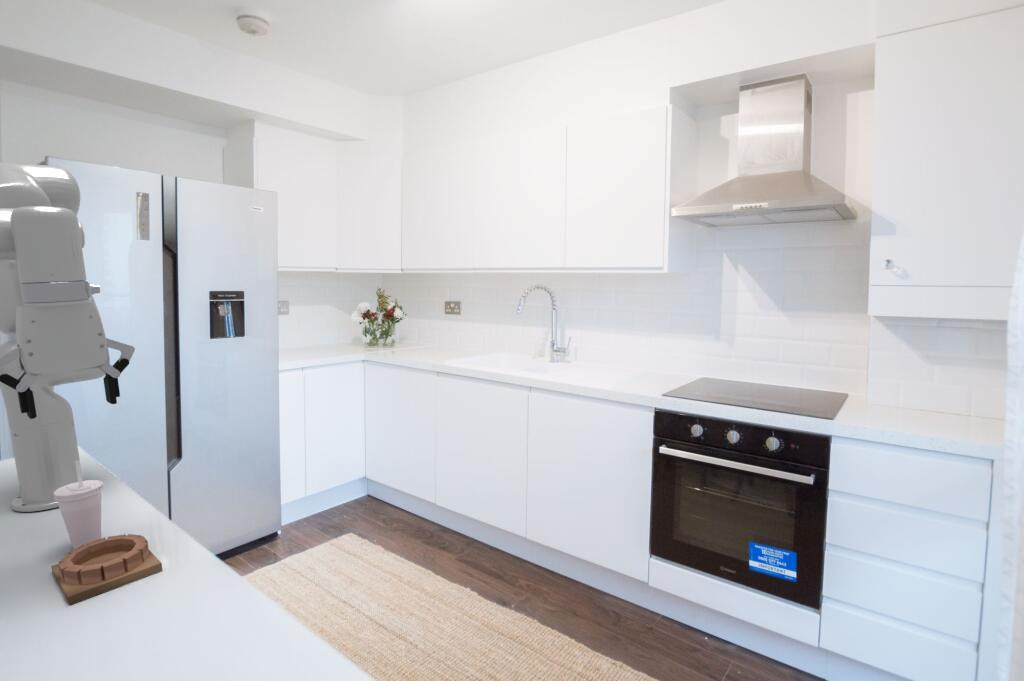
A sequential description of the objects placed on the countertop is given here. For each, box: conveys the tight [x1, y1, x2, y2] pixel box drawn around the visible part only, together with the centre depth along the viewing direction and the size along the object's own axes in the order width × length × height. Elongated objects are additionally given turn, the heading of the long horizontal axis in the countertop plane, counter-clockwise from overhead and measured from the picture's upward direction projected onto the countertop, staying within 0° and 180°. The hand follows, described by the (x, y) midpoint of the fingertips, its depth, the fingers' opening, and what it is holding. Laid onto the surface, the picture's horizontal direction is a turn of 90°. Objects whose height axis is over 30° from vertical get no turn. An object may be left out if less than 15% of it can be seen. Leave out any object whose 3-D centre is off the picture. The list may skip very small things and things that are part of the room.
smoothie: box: [54, 460, 104, 550], centre depth 92 cm, size 6×6×14 cm
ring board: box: [51, 533, 163, 606], centre depth 84 cm, size 12×11×3 cm
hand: (73, 409), depth 85 cm, fingers open, 9 cm apart
